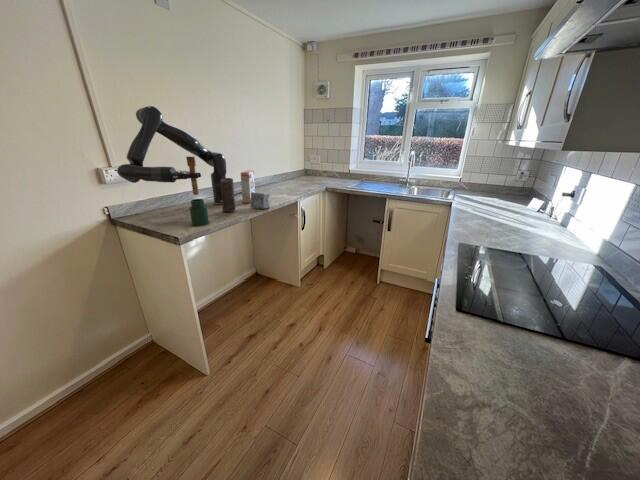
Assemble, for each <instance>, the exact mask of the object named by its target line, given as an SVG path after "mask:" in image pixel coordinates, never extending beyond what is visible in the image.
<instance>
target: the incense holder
mask: <svg viewBox="0 0 640 480" xmlns="http://www.w3.org/2000/svg"><path fill="white" fill-rule="evenodd" d="M269 199H270V193H267V192H266V193H265V192H259V191H255V192H251V203H250V208H256V209H257V210H260V209H261V210H263V209H269V208H270V204H269Z"/></svg>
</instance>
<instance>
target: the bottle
mask: <svg viewBox="0 0 640 480" xmlns="http://www.w3.org/2000/svg"><path fill="white" fill-rule="evenodd" d="M208 211H209V210H208V206H207V205H206V204H205V200H204V198H194V199H191V200H190V206H189V214H190V220H191V225H192V226H197V227H198V226H199V227H201V226H205V225H209V223H210V219H209V212H208Z"/></svg>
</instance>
